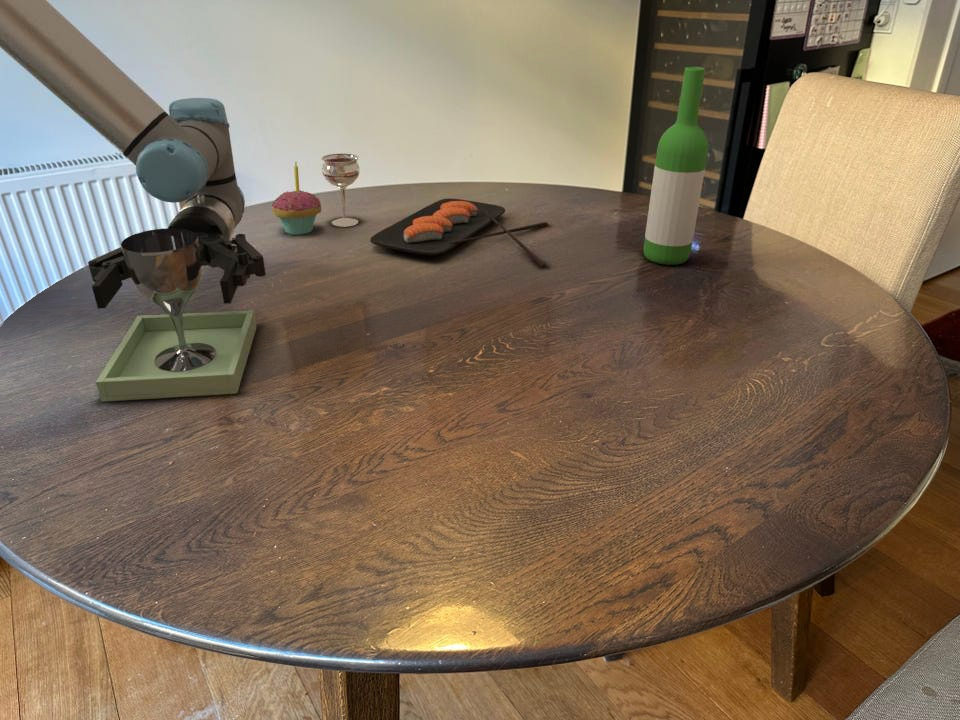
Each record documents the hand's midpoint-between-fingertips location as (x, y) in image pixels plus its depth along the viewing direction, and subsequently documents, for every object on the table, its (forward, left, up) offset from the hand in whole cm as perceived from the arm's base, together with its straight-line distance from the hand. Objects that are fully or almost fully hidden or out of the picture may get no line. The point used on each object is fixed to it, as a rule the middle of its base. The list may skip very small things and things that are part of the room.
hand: (162, 295), depth 79 cm
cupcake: (+10, +50, -10) cm, 52 cm away
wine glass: (0, +3, -10) cm, 10 cm away
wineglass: (+18, +54, -10) cm, 58 cm away
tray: (0, +3, -10) cm, 10 cm away
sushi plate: (+42, +42, -10) cm, 60 cm away
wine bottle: (+72, +30, -10) cm, 79 cm away
